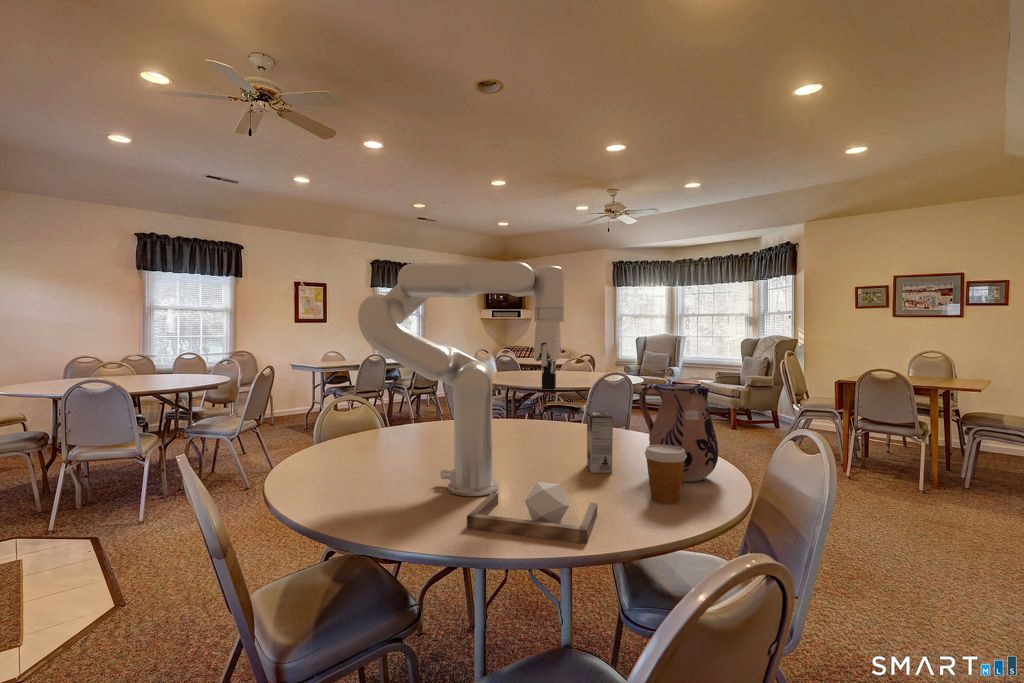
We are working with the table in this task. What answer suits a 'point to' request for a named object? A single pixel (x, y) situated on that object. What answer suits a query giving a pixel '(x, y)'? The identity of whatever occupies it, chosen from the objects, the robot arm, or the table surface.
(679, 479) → the disposable coffee cup
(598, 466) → the coffee box
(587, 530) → the wooden u-shaped frame
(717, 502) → the table surface
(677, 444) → the ceramic pitcher
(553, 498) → the die
